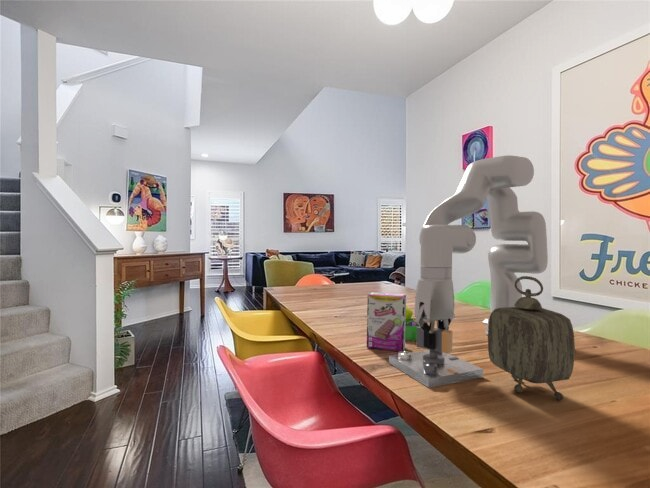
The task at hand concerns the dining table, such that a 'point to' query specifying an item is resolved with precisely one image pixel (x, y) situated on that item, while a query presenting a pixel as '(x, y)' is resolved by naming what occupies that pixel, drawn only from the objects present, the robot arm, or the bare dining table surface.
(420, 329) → the knob
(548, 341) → the tabletop clock
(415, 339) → the fruit basket
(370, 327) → the candy bar box
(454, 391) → the dining table surface
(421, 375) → the levelling base
